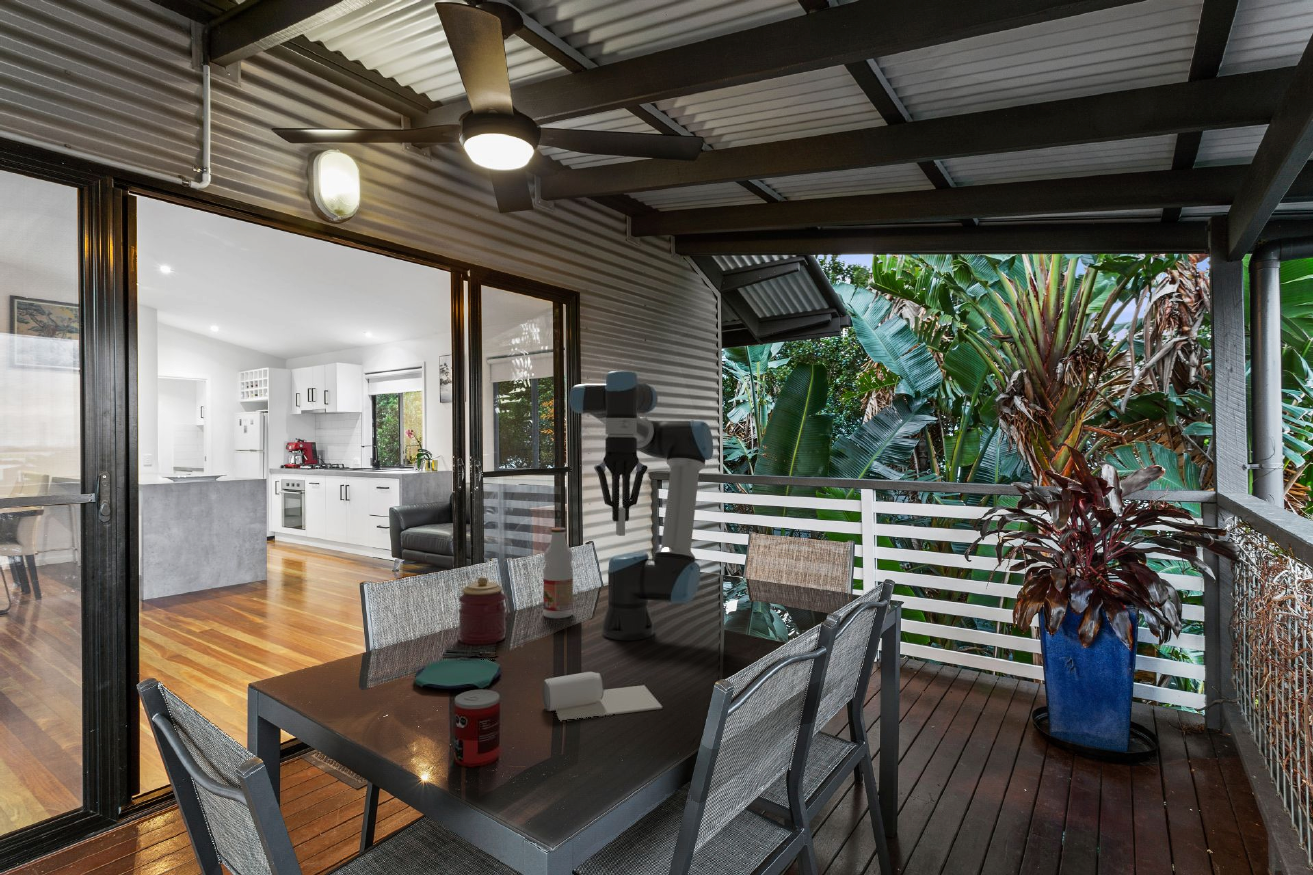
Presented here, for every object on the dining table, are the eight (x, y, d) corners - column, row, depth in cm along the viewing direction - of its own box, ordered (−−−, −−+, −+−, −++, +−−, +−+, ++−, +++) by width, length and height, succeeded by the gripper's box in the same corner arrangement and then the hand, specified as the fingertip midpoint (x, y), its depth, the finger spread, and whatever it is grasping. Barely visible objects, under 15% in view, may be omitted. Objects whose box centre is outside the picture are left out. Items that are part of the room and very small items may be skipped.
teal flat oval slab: (402, 695, 153) (402, 684, 153) (439, 654, 183) (439, 645, 183) (492, 695, 154) (492, 685, 154) (514, 654, 184) (514, 646, 184)
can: (544, 714, 145) (598, 704, 150) (551, 707, 140) (606, 696, 145) (540, 684, 148) (592, 675, 153) (546, 675, 144) (600, 666, 149)
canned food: (458, 748, 127) (459, 689, 127) (502, 747, 127) (502, 688, 127) (449, 768, 119) (450, 705, 119) (496, 767, 120) (496, 704, 120)
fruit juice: (570, 619, 215) (570, 530, 215) (540, 618, 216) (540, 530, 216) (574, 611, 225) (575, 526, 225) (546, 610, 225) (546, 526, 225)
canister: (482, 648, 186) (483, 583, 186) (448, 641, 192) (448, 578, 192) (515, 636, 197) (515, 575, 197) (481, 629, 203) (482, 570, 203)
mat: (549, 697, 151) (549, 695, 151) (644, 686, 158) (644, 685, 158) (559, 721, 139) (559, 719, 139) (662, 708, 146) (662, 706, 146)
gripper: (598, 436, 158) (597, 538, 158) (652, 436, 162) (651, 536, 162) (591, 436, 165) (590, 533, 165) (642, 436, 169) (642, 531, 169)
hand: (620, 534), depth 163 cm, fingers closed
